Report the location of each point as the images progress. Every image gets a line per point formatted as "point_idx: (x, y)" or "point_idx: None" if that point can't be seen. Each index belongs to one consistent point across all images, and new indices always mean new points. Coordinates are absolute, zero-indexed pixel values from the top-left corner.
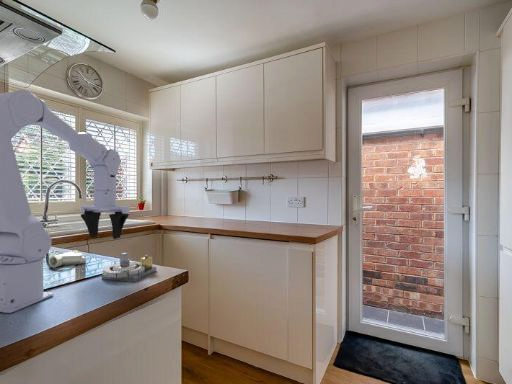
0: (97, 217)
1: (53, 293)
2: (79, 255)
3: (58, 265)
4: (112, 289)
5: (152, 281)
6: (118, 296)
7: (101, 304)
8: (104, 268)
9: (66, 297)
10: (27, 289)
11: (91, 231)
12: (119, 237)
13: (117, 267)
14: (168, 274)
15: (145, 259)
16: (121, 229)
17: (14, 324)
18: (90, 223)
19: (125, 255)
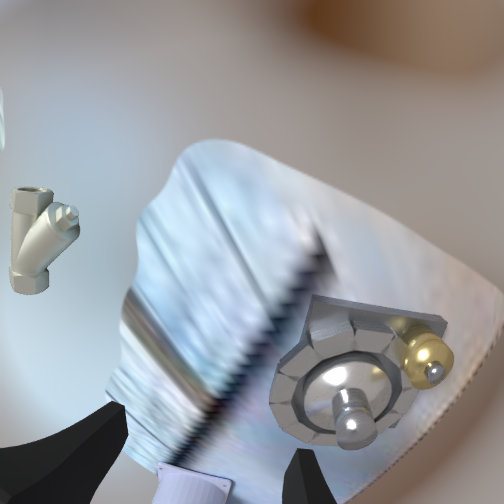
0: (48, 496)
1: (230, 483)
2: (54, 239)
3: (48, 284)
4: (345, 457)
5: (434, 404)
6: (370, 475)
7: (349, 494)
8: (275, 415)
9: (263, 484)
10: None
11: (110, 461)
12: (312, 455)
13: (327, 417)
14: (474, 345)
15: (430, 387)
16: (327, 493)
17: None
18: (87, 501)
19: (364, 443)
